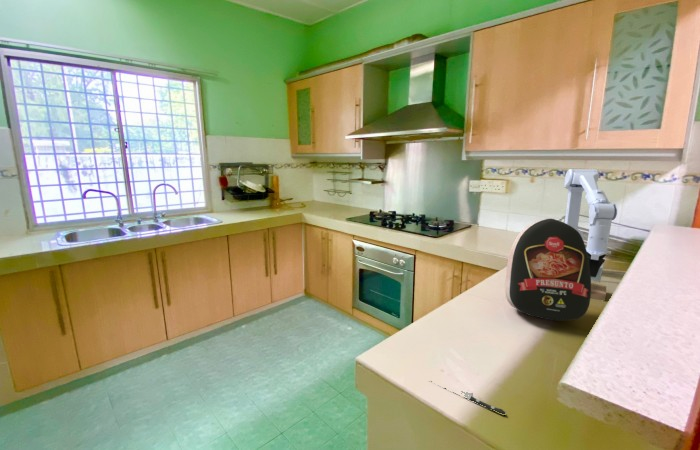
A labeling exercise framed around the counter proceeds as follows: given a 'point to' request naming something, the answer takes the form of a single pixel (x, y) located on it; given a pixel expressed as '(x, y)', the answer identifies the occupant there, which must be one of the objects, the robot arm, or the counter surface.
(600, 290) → the walnut block
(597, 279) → the grey cube
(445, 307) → the counter surface
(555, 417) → the counter surface
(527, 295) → the packaged food
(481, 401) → the chef's knife
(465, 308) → the counter surface
